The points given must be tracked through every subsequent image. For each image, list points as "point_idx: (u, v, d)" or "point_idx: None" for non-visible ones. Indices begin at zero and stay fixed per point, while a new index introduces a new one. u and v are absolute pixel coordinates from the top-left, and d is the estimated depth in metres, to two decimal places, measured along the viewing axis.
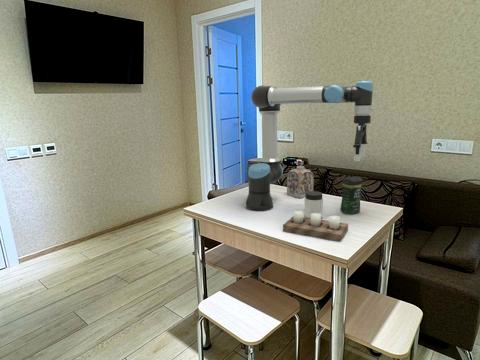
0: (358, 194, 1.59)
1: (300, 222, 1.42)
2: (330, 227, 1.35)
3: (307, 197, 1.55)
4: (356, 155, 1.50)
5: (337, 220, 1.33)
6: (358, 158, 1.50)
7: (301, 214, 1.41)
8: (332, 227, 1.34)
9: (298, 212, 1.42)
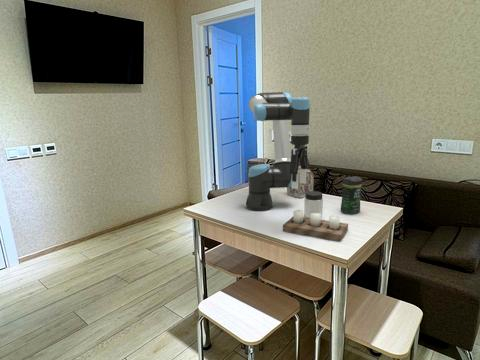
0: (358, 194, 1.59)
1: (300, 222, 1.42)
2: (330, 227, 1.35)
3: (307, 197, 1.55)
4: (293, 182, 1.35)
5: (337, 220, 1.33)
6: (295, 185, 1.35)
7: (301, 214, 1.41)
8: (332, 227, 1.34)
9: (298, 212, 1.42)
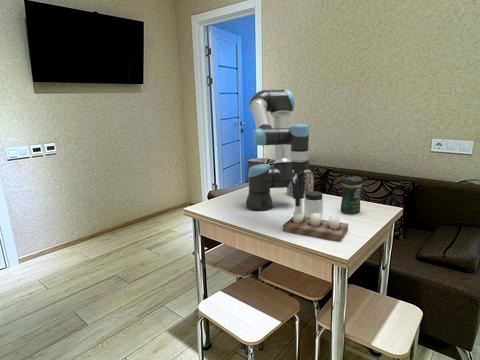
0: (358, 194, 1.59)
1: (300, 223, 1.42)
2: (330, 227, 1.35)
3: (307, 197, 1.55)
4: (297, 206, 1.42)
5: (337, 220, 1.33)
6: (299, 210, 1.41)
7: (301, 215, 1.41)
8: (332, 227, 1.34)
9: (298, 213, 1.42)
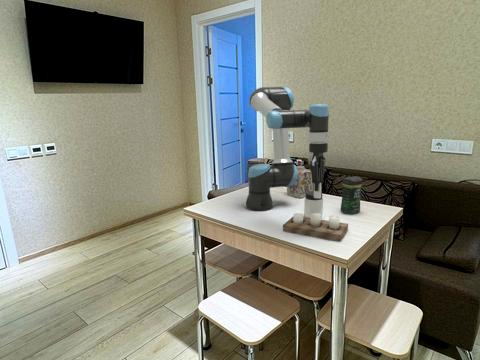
0: (358, 194, 1.59)
1: None
2: (330, 227, 1.35)
3: (307, 197, 1.55)
4: (316, 191, 1.35)
5: (337, 220, 1.33)
6: (318, 195, 1.35)
7: (301, 217, 1.41)
8: (332, 227, 1.34)
9: (298, 215, 1.42)
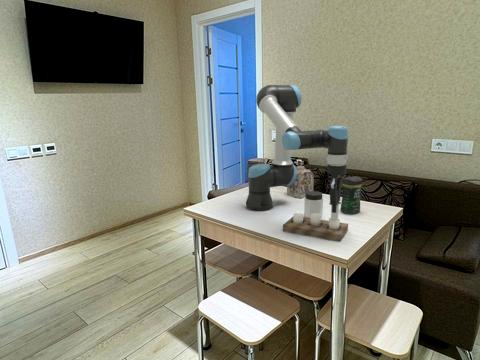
0: (358, 194, 1.59)
1: None
2: None
3: (307, 197, 1.55)
4: (333, 213, 1.34)
5: (337, 222, 1.33)
6: (335, 216, 1.34)
7: (301, 217, 1.41)
8: (332, 229, 1.34)
9: (298, 215, 1.42)
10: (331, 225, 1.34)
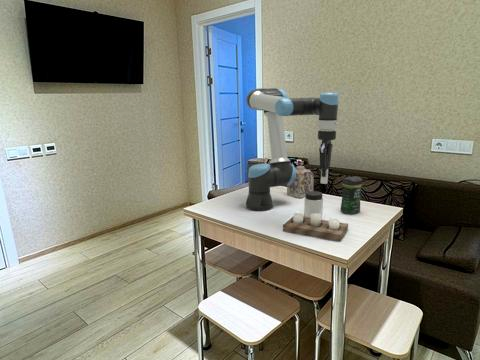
0: (358, 194, 1.59)
1: None
2: None
3: (307, 197, 1.55)
4: (323, 177, 1.41)
5: (337, 224, 1.33)
6: (325, 180, 1.41)
7: (301, 217, 1.41)
8: None
9: (298, 215, 1.42)
10: (331, 226, 1.34)
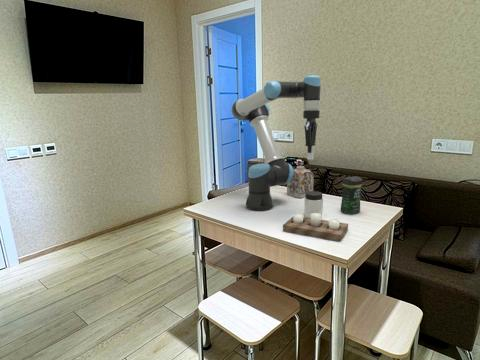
0: (358, 194, 1.59)
1: None
2: None
3: (307, 197, 1.55)
4: (309, 153, 1.55)
5: (337, 224, 1.33)
6: (310, 156, 1.54)
7: (301, 217, 1.41)
8: None
9: (298, 215, 1.42)
10: (331, 226, 1.34)
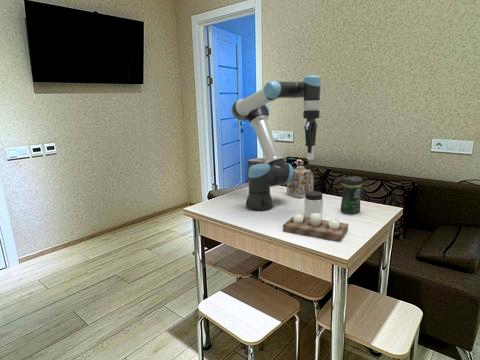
0: (358, 194, 1.59)
1: None
2: None
3: (307, 197, 1.55)
4: (309, 153, 1.55)
5: (337, 224, 1.33)
6: (310, 156, 1.54)
7: (301, 217, 1.41)
8: None
9: (298, 215, 1.42)
10: (331, 226, 1.34)
